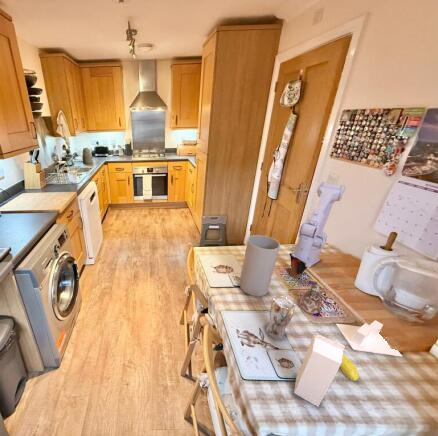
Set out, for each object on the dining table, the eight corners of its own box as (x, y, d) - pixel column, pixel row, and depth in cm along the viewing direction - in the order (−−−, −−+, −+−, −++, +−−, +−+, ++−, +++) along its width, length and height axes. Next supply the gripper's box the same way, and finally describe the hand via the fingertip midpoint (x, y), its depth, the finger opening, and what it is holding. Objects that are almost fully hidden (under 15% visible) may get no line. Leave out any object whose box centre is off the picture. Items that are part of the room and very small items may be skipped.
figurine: (299, 309, 96) (307, 287, 91) (298, 298, 102) (306, 277, 97) (320, 316, 93) (329, 293, 88) (317, 304, 99) (326, 282, 94)
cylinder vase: (238, 292, 106) (247, 246, 95) (239, 276, 116) (248, 233, 106) (268, 300, 101) (281, 252, 91) (266, 282, 112) (278, 237, 101)
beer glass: (283, 327, 88) (293, 297, 82) (287, 342, 82) (298, 311, 76) (263, 322, 90) (272, 293, 84) (265, 337, 85) (274, 306, 78)
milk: (296, 376, 72) (317, 325, 63) (319, 389, 69) (345, 337, 60) (293, 393, 67) (315, 341, 58) (318, 408, 64) (346, 355, 55)
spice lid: (289, 263, 115) (290, 259, 114) (296, 260, 117) (297, 256, 116) (299, 269, 111) (301, 264, 110) (306, 266, 113) (307, 262, 112)
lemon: (344, 381, 70) (349, 373, 69) (331, 357, 77) (335, 349, 76) (360, 384, 70) (365, 376, 68) (345, 359, 77) (349, 351, 75)
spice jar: (291, 271, 119) (295, 258, 116) (300, 275, 117) (304, 261, 113) (288, 275, 117) (293, 261, 113) (298, 279, 114) (302, 265, 110)
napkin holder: (353, 350, 80) (359, 338, 77) (335, 323, 90) (340, 312, 88) (403, 356, 77) (411, 345, 75) (378, 328, 88) (384, 317, 85)
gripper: (287, 239, 117) (281, 261, 122) (302, 255, 103) (295, 279, 109) (302, 239, 116) (295, 262, 122) (319, 255, 103) (310, 280, 109)
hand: (296, 270), depth 115 cm, fingers closed on spice lid, 5 cm apart
